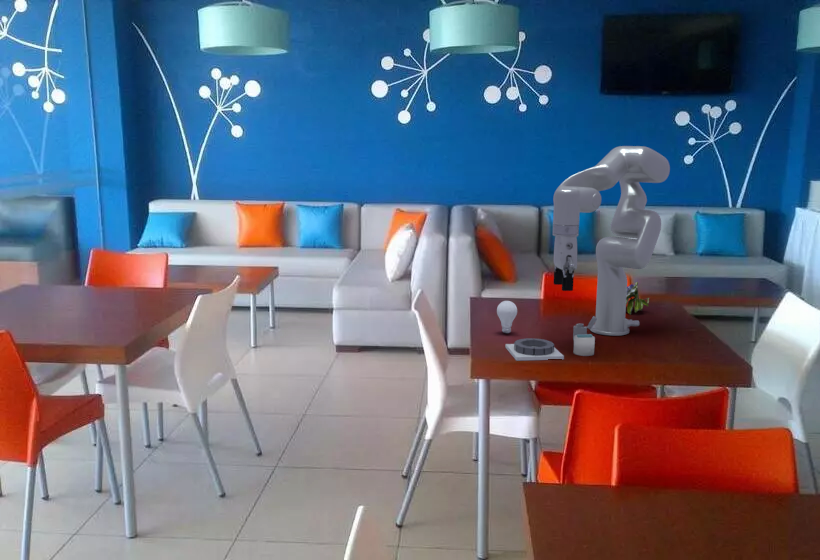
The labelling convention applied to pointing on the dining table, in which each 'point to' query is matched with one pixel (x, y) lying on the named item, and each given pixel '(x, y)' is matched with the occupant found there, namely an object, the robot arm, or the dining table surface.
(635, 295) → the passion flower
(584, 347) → the knob
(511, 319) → the light bulb
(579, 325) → the lighter
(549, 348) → the segmented ring plate
